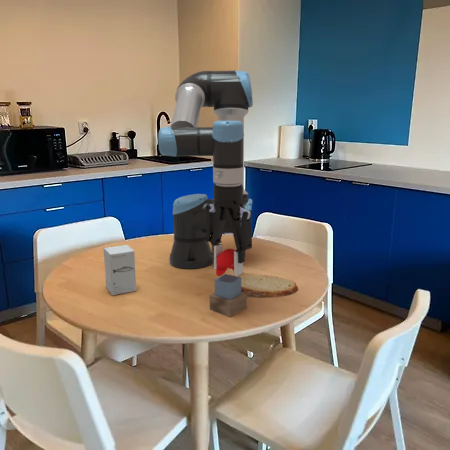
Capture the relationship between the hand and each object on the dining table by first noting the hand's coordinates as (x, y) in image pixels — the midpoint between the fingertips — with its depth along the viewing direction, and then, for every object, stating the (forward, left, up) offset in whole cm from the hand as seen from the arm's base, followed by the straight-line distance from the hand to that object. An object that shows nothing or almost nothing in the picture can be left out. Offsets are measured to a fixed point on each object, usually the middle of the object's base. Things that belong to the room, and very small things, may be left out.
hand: (228, 271), depth 119 cm
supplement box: (-33, -10, -11) cm, 36 cm away
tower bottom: (0, 0, -11) cm, 11 cm away
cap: (0, 0, -1) cm, 1 cm away
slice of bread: (-2, +17, -11) cm, 21 cm away
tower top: (0, 0, -7) cm, 7 cm away
